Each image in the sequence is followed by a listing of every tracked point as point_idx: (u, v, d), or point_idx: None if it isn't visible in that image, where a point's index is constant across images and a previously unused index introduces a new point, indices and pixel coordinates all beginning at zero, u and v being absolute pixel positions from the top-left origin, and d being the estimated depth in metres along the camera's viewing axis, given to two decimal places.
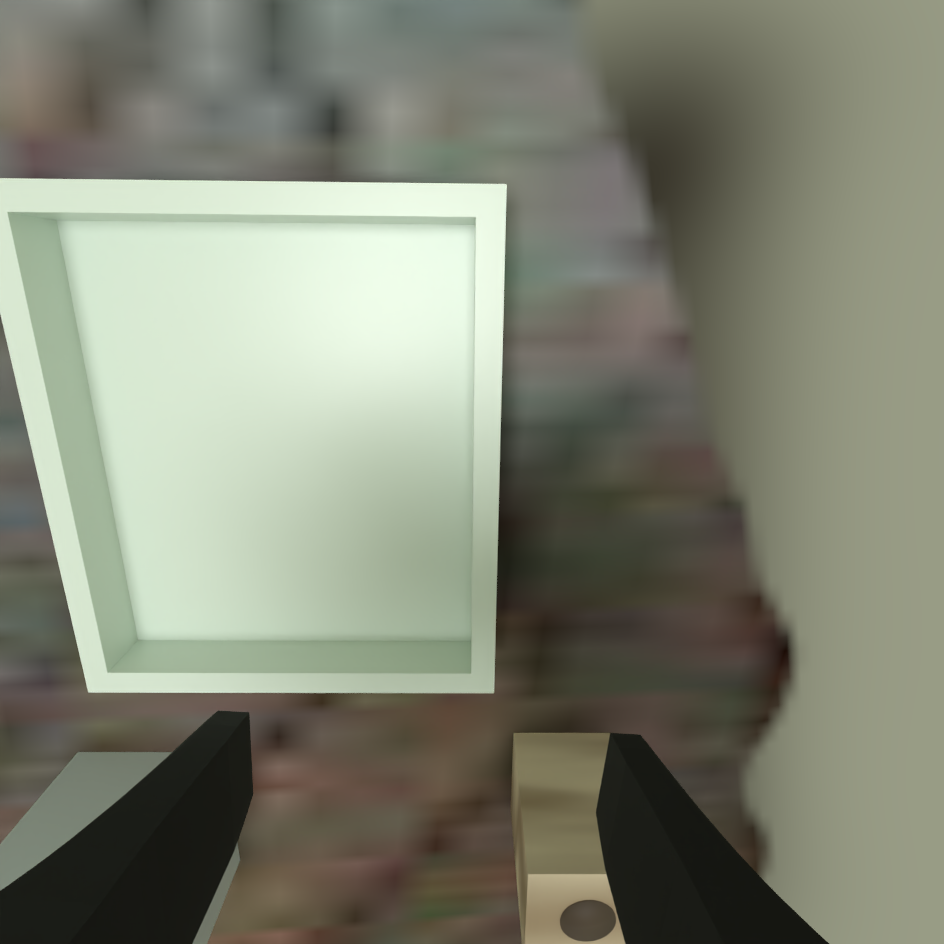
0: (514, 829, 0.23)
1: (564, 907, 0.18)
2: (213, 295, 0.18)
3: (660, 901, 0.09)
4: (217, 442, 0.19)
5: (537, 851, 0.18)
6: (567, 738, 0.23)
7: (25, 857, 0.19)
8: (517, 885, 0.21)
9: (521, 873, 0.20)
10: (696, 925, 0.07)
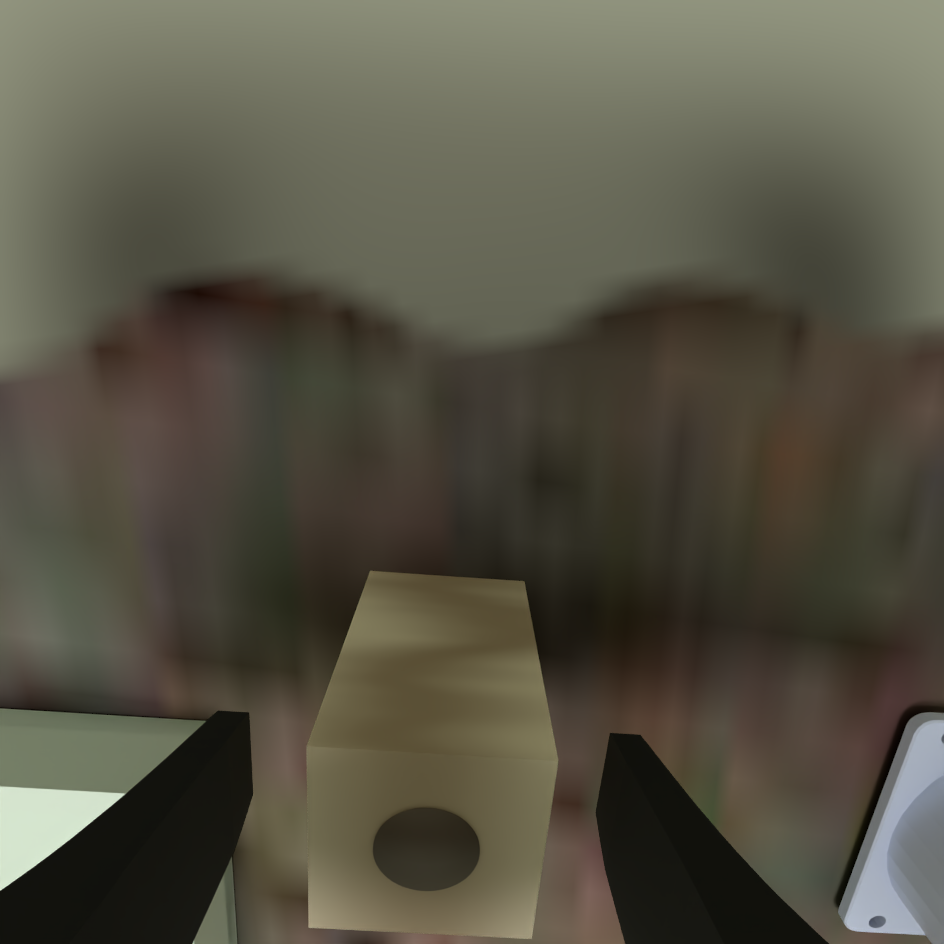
0: None
1: (391, 882, 0.10)
2: None
3: (660, 901, 0.09)
4: None
5: None
6: None
7: None
8: None
9: None
10: (696, 925, 0.07)
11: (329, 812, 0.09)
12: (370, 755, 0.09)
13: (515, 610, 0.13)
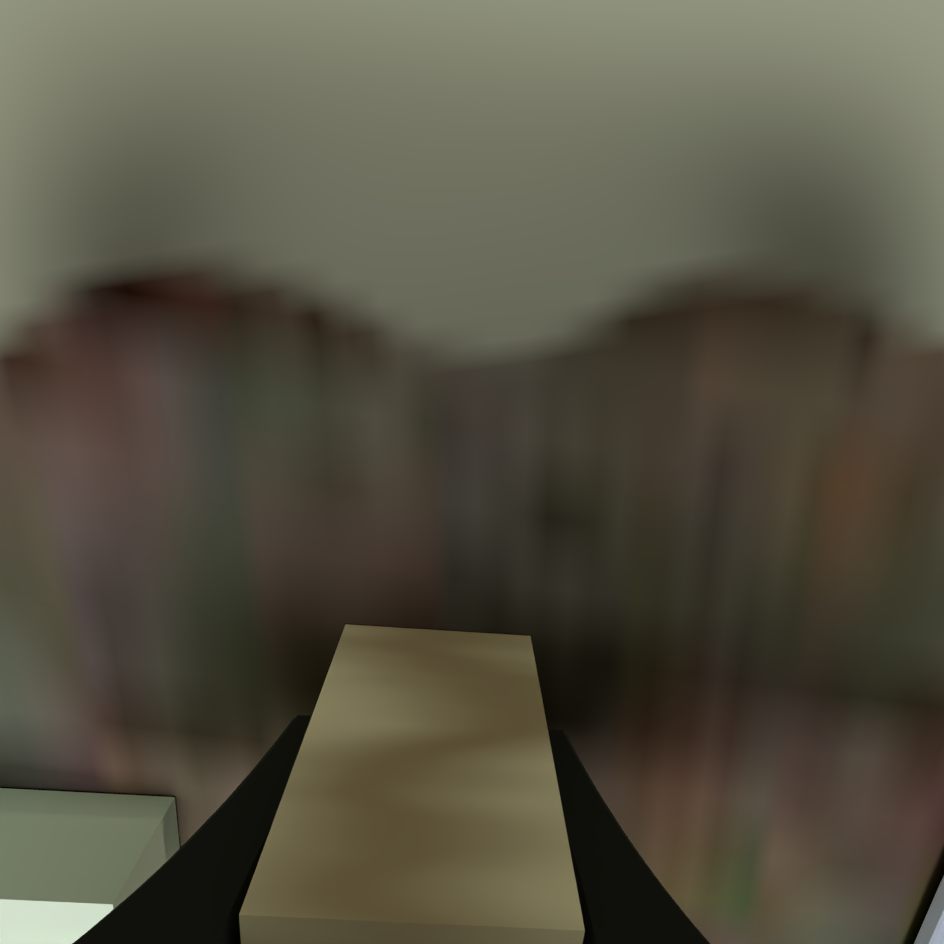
0: None
1: None
2: None
3: None
4: None
5: None
6: None
7: None
8: None
9: None
10: None
11: None
12: (326, 925, 0.07)
13: (520, 679, 0.11)
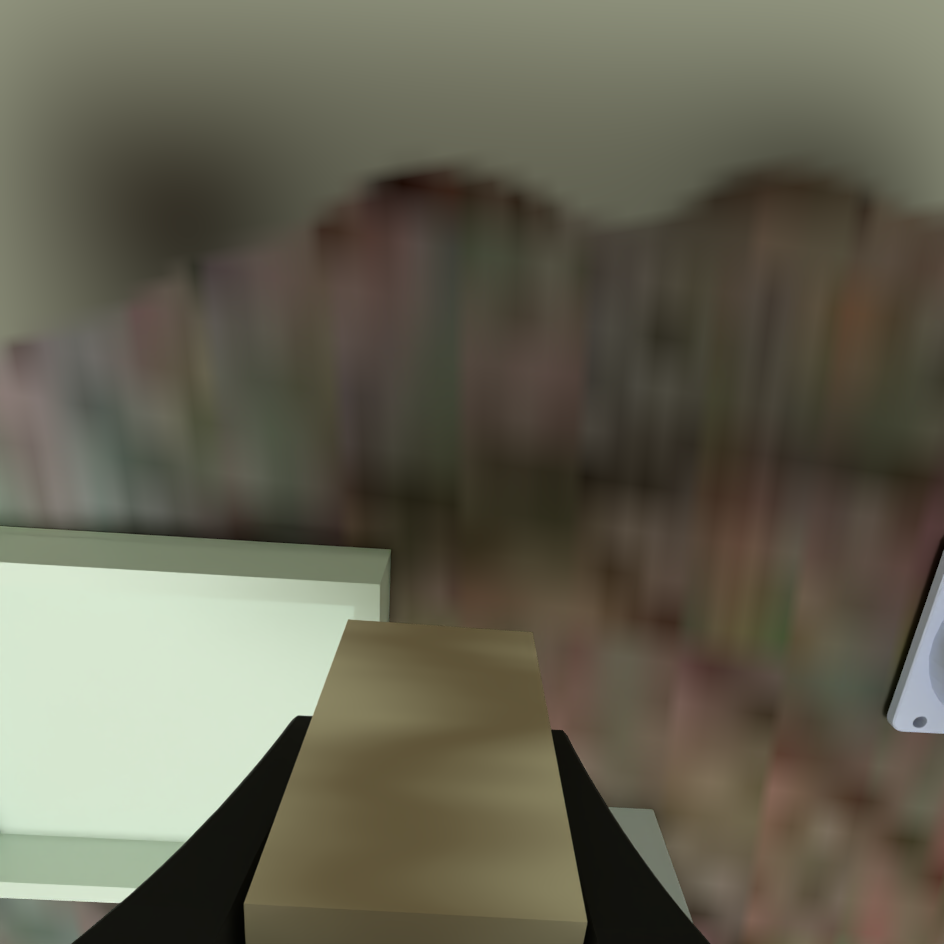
0: None
1: None
2: (36, 748, 0.22)
3: None
4: (162, 764, 0.22)
5: None
6: None
7: None
8: None
9: None
10: None
11: None
12: (330, 914, 0.07)
13: (523, 675, 0.11)
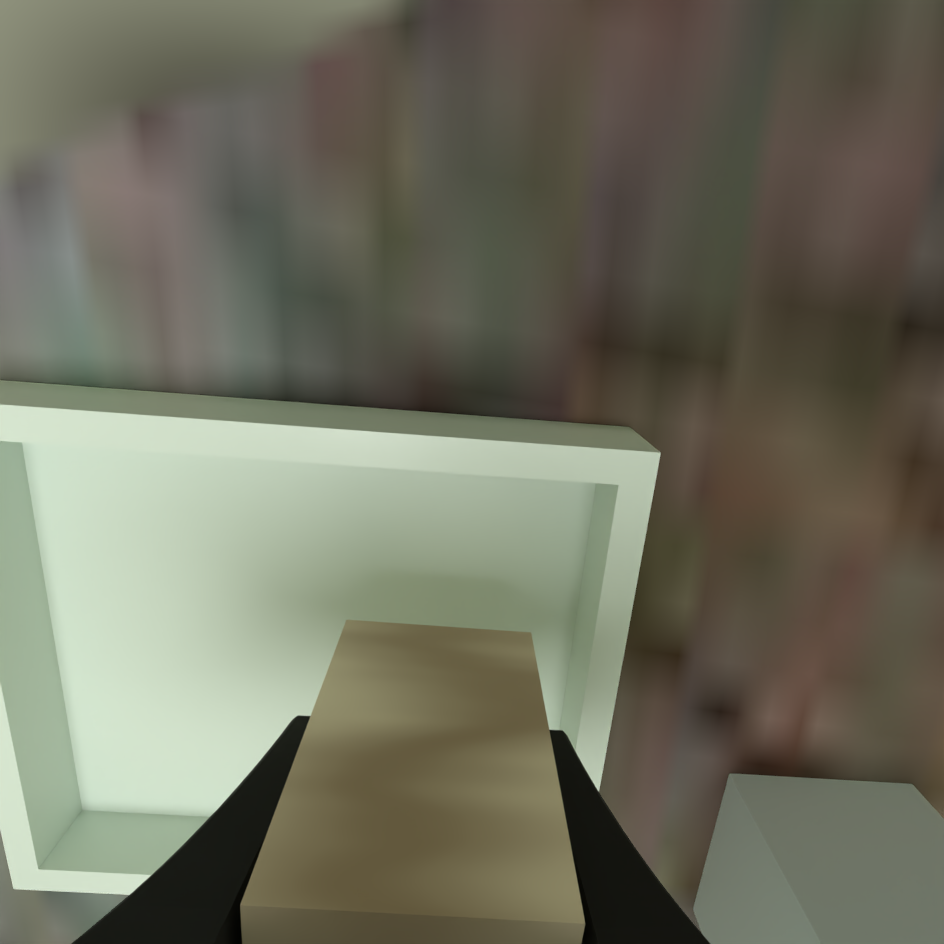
0: None
1: None
2: (136, 697, 0.16)
3: None
4: None
5: None
6: None
7: None
8: None
9: None
10: None
11: None
12: (327, 915, 0.07)
13: (521, 675, 0.11)
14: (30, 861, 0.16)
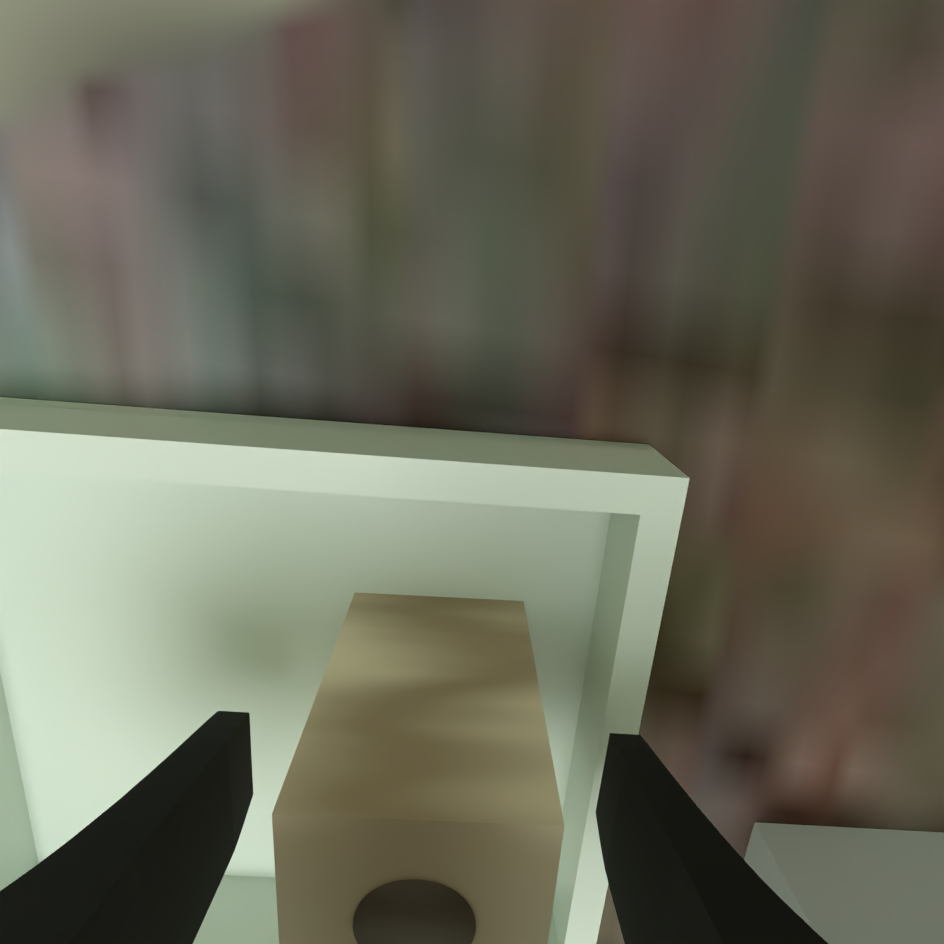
0: None
1: None
2: (96, 744, 0.15)
3: (659, 901, 0.09)
4: (279, 768, 0.15)
5: None
6: None
7: None
8: None
9: None
10: (696, 925, 0.07)
11: (301, 885, 0.08)
12: (345, 822, 0.08)
13: (514, 636, 0.12)
14: None
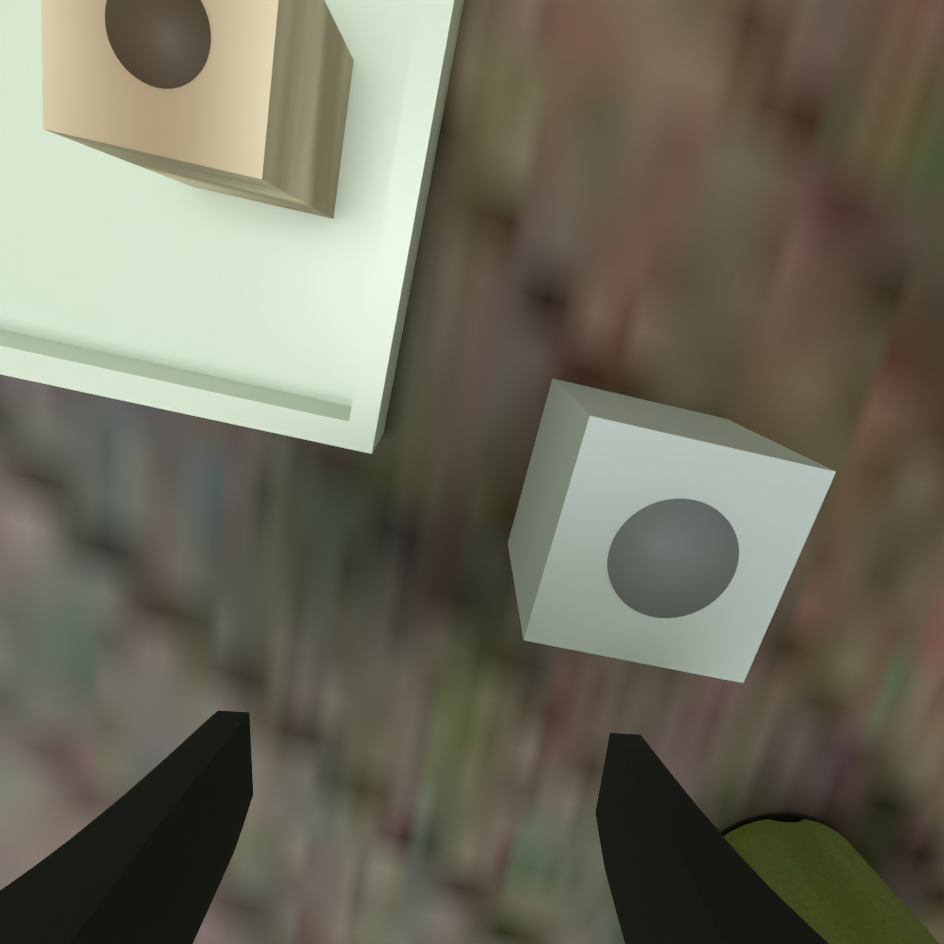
0: (283, 202, 0.15)
1: (125, 73, 0.10)
2: None
3: (660, 901, 0.09)
4: (120, 220, 0.16)
5: None
6: None
7: (530, 574, 0.16)
8: (292, 198, 0.13)
9: (189, 170, 0.12)
10: (696, 925, 0.07)
11: None
12: None
13: None
14: None
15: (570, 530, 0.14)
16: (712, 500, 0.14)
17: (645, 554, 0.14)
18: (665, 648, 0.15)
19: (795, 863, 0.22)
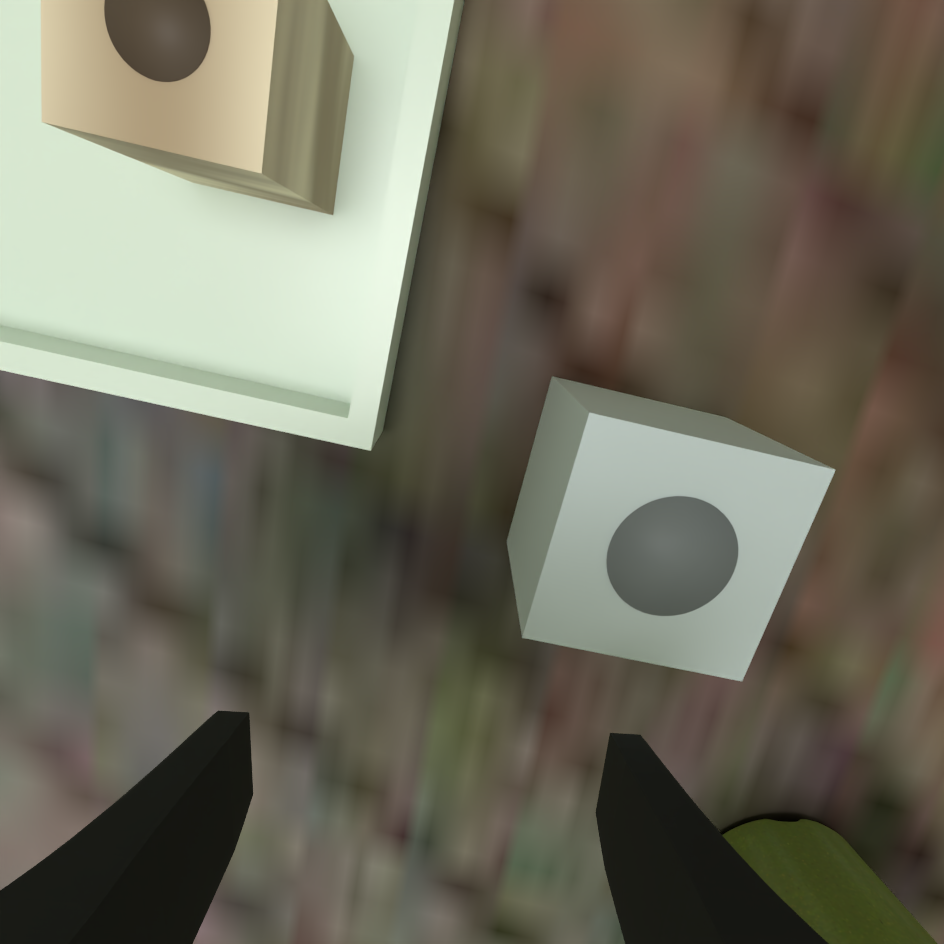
0: (282, 198, 0.15)
1: (124, 66, 0.10)
2: None
3: (660, 901, 0.09)
4: (119, 216, 0.16)
5: None
6: None
7: (528, 571, 0.15)
8: (292, 193, 0.13)
9: (188, 165, 0.12)
10: (696, 925, 0.07)
11: None
12: None
13: None
14: None
15: (570, 527, 0.14)
16: (712, 498, 0.13)
17: (644, 551, 0.14)
18: (664, 646, 0.15)
19: (793, 863, 0.22)
